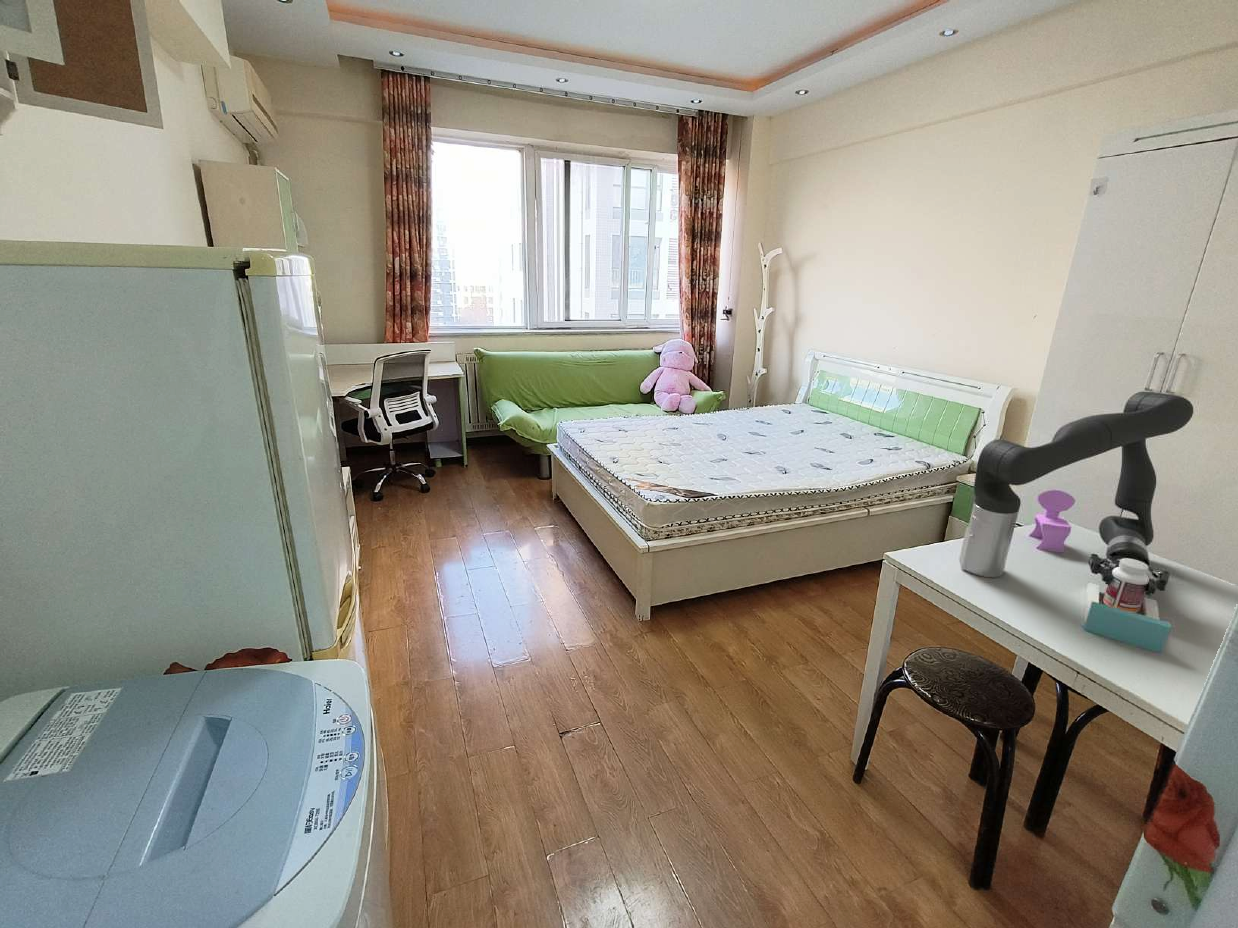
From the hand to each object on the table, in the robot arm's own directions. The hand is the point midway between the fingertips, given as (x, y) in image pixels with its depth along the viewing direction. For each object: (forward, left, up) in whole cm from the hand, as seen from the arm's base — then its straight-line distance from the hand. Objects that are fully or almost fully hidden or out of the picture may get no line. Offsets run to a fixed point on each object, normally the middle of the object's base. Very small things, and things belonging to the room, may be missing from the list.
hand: (1128, 585), depth 122 cm
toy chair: (-7, +31, -7) cm, 33 cm away
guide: (0, -2, -7) cm, 7 cm away
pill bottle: (+1, +2, -7) cm, 7 cm away
